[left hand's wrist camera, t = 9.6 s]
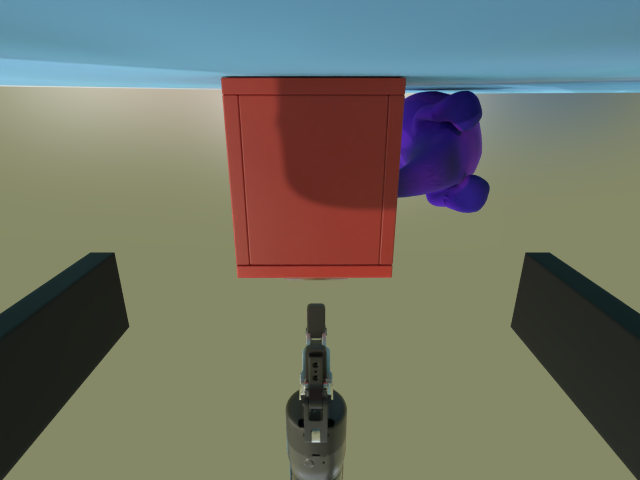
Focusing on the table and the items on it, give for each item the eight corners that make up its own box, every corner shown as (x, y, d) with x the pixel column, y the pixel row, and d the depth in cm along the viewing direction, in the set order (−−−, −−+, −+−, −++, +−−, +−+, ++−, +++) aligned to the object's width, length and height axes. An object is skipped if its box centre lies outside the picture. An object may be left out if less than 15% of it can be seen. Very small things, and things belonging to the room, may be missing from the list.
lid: (362, 196, 42) (359, 266, 44) (269, 196, 42) (272, 266, 44) (392, 265, 24) (385, 372, 27) (236, 266, 24) (245, 373, 27)
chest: (367, 85, 37) (362, 197, 41) (263, 85, 37) (268, 197, 41) (406, 77, 21) (392, 264, 24) (220, 77, 21) (236, 265, 24)
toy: (507, 91, 39) (465, 73, 63) (339, 133, 44) (360, 101, 68) (517, 230, 45) (475, 165, 69) (369, 253, 50) (378, 185, 74)
